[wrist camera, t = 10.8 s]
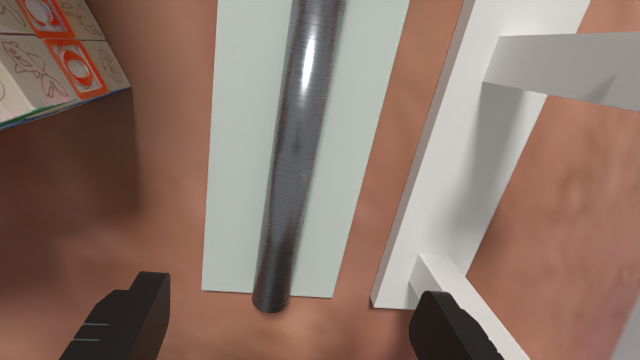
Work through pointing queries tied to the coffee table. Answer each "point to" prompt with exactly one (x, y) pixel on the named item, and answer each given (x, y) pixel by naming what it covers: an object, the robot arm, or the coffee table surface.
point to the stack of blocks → (52, 60)
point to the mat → (258, 131)
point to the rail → (295, 144)
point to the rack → (491, 139)
